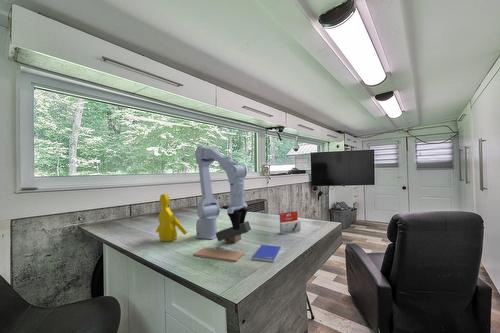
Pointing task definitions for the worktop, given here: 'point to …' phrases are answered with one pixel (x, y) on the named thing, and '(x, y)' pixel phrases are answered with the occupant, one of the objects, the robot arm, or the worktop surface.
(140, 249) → the worktop surface
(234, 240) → the block
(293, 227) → the ink cartridge box
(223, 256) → the mat
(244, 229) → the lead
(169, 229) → the figure statuette
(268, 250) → the hard drive
